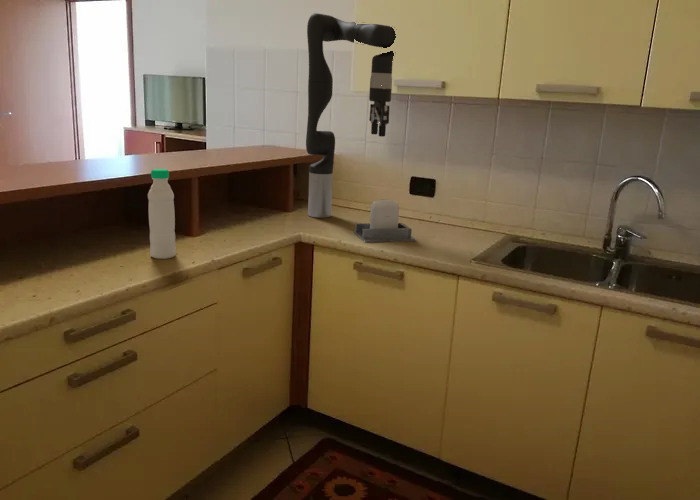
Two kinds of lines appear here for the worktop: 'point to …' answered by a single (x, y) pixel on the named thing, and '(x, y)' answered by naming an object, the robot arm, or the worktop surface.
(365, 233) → the bracket
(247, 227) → the worktop surface
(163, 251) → the water bottle
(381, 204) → the photo printer
